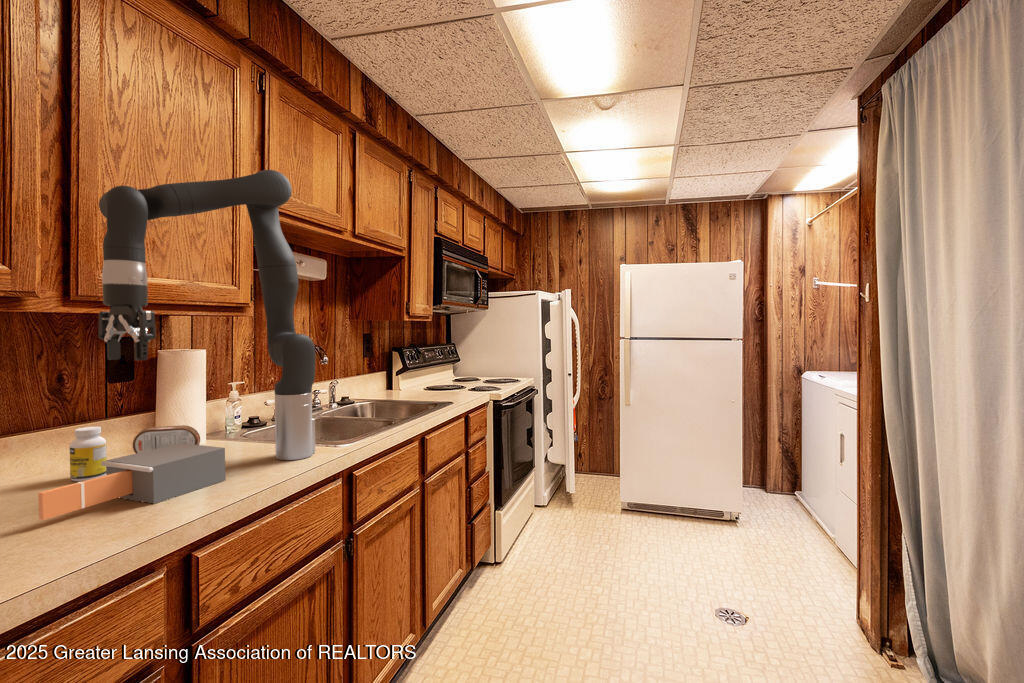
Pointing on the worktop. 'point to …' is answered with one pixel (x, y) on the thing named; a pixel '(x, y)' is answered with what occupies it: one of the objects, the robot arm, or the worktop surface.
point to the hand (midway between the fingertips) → (127, 359)
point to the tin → (164, 437)
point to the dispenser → (170, 470)
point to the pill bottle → (87, 454)
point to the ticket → (84, 494)
